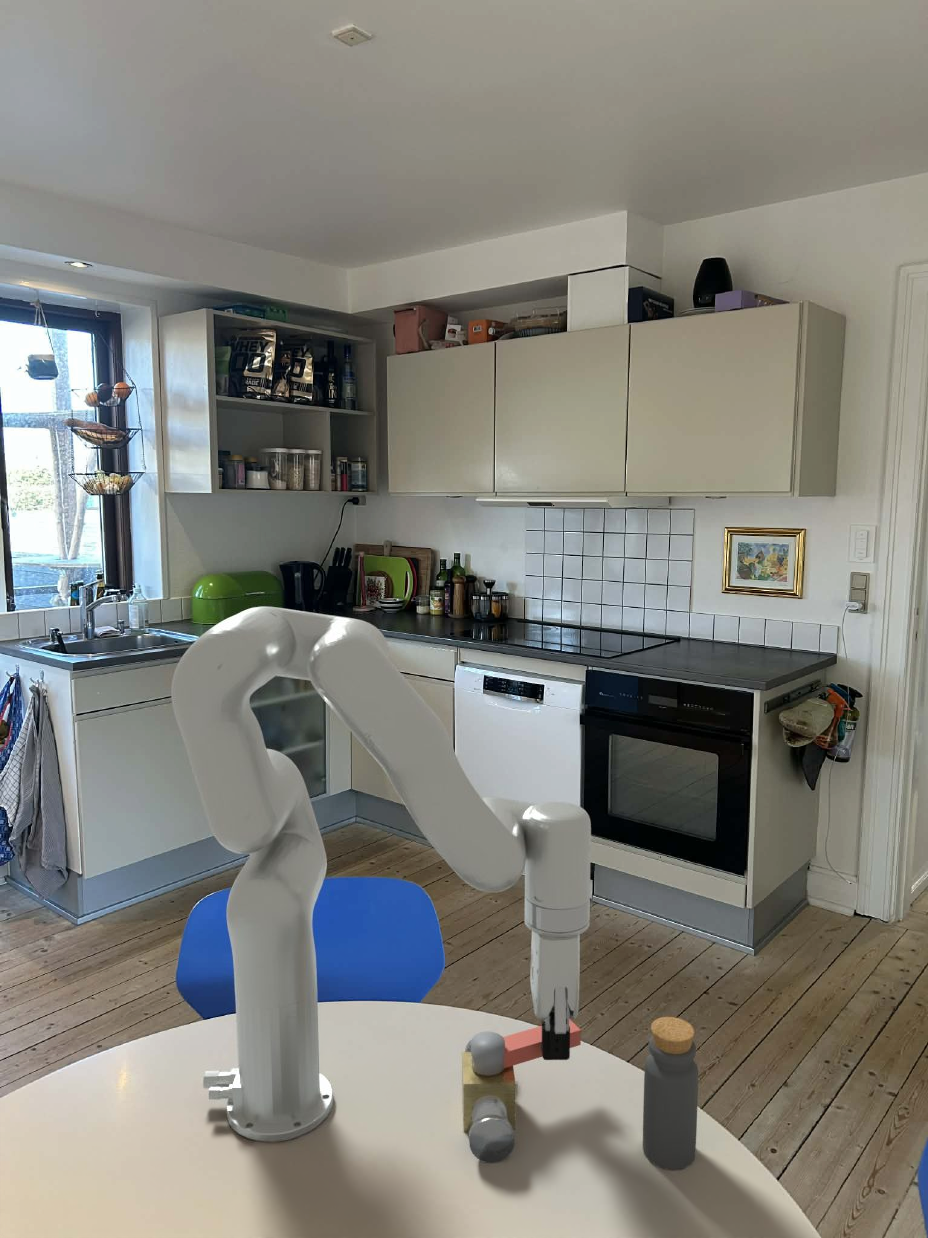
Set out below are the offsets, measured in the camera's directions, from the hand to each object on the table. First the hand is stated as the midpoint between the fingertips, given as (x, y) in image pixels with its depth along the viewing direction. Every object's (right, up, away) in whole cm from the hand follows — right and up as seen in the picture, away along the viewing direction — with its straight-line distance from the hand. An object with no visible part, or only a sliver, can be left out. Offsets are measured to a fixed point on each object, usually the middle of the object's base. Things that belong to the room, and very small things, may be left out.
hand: (555, 1055), depth 109 cm
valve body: (-8, -7, +1) cm, 11 cm away
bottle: (+12, -8, -6) cm, 16 cm away
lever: (-4, -1, +2) cm, 4 cm away
